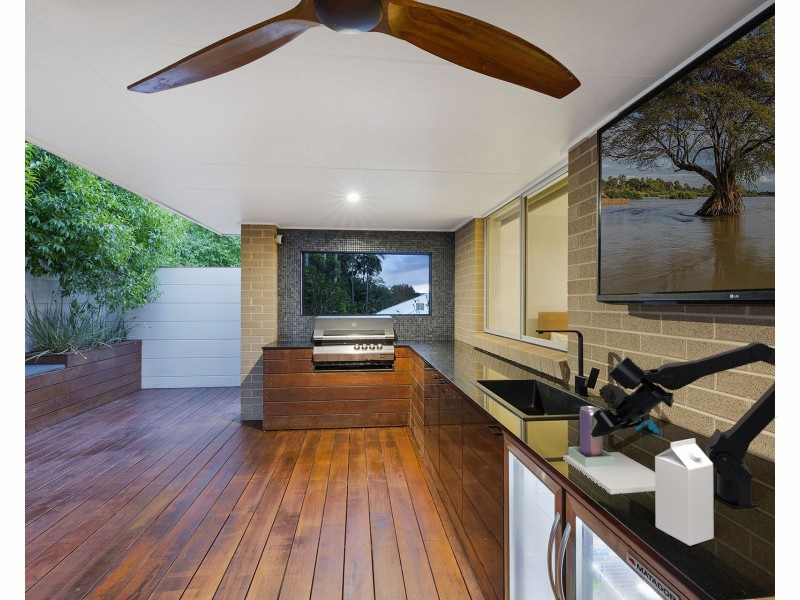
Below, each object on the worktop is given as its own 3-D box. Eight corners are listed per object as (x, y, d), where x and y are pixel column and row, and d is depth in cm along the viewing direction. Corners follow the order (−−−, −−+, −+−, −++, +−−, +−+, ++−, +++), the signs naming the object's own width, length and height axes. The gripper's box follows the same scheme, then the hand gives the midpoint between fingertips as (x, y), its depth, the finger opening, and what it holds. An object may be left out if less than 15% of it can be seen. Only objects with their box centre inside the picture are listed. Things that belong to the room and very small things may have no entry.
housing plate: (676, 489, 103) (676, 474, 103) (610, 494, 100) (610, 479, 100) (618, 455, 125) (618, 443, 125) (563, 459, 122) (563, 447, 122)
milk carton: (655, 527, 86) (654, 437, 86) (678, 521, 88) (678, 432, 88) (689, 546, 79) (688, 448, 79) (714, 539, 82) (713, 443, 82)
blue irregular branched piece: (659, 433, 140) (635, 409, 145) (644, 443, 142) (622, 418, 148) (664, 430, 148) (642, 406, 154) (650, 439, 151) (629, 416, 156)
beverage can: (578, 462, 117) (578, 409, 117) (580, 454, 123) (580, 404, 123) (602, 465, 114) (601, 412, 114) (602, 458, 120) (602, 407, 120)
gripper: (637, 372, 116) (601, 403, 126) (599, 380, 106) (563, 413, 116) (668, 406, 110) (627, 436, 119) (630, 417, 100) (589, 449, 109)
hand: (601, 432), depth 116 cm, fingers open, 9 cm apart
